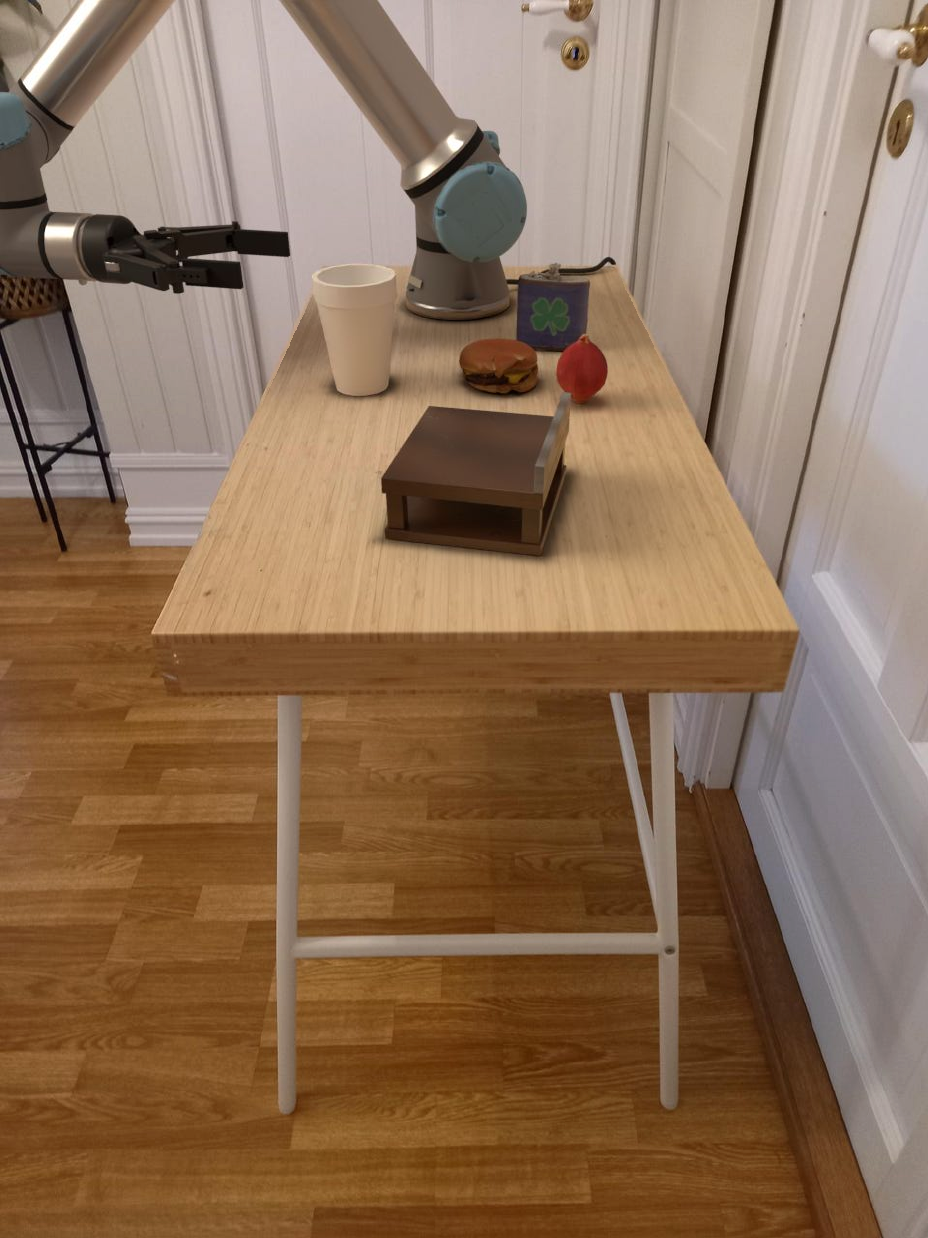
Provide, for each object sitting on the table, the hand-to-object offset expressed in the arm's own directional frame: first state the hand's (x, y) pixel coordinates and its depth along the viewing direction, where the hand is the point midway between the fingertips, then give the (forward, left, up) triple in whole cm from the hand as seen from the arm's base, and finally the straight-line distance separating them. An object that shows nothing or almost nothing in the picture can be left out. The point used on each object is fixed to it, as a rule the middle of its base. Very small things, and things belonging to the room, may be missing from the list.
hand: (265, 259), depth 106 cm
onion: (-11, +35, -14) cm, 39 cm away
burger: (-12, +24, -14) cm, 30 cm away
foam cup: (-3, +10, -14) cm, 18 cm away
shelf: (+16, +37, -14) cm, 43 cm away
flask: (-26, +24, -14) cm, 38 cm away
